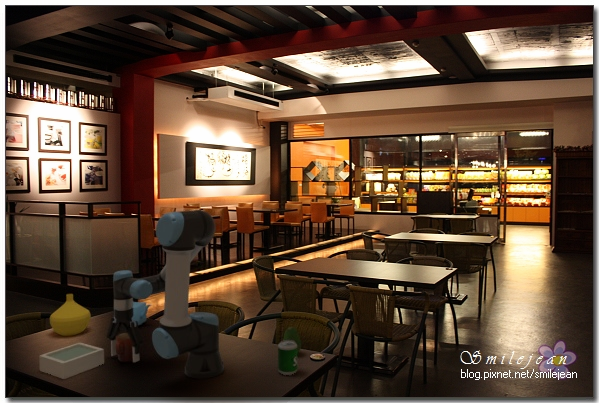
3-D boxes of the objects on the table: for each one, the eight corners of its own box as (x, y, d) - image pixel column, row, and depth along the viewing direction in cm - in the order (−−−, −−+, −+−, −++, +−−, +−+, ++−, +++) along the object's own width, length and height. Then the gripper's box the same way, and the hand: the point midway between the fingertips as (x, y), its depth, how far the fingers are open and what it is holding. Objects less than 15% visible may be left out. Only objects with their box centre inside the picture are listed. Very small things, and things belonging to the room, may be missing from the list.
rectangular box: (104, 363, 207) (103, 349, 206) (63, 379, 191) (63, 363, 191) (80, 356, 215) (79, 342, 215) (39, 370, 200) (39, 355, 199)
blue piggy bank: (111, 329, 251) (111, 304, 251) (127, 320, 267) (126, 296, 266) (145, 331, 248) (144, 305, 248) (159, 322, 264) (158, 298, 263)
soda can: (290, 377, 191) (290, 347, 190) (274, 373, 195) (274, 343, 194) (301, 371, 197) (300, 341, 197) (285, 367, 201) (284, 338, 201)
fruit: (285, 350, 220) (284, 324, 219) (302, 352, 218) (302, 325, 218) (280, 357, 212) (280, 329, 212) (299, 358, 211) (298, 330, 210)
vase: (58, 327, 255) (57, 290, 254) (95, 326, 257) (94, 289, 256) (44, 339, 237) (42, 300, 236) (84, 338, 239) (83, 298, 238)
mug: (123, 355, 216) (122, 332, 216) (142, 356, 214) (141, 333, 214) (107, 365, 204) (106, 341, 204) (127, 367, 203) (126, 342, 202)
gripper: (151, 310, 205) (152, 360, 206) (111, 302, 218) (113, 349, 219) (136, 314, 198) (138, 367, 200) (96, 306, 211) (98, 355, 213)
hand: (125, 358), depth 209 cm, fingers open, 13 cm apart
